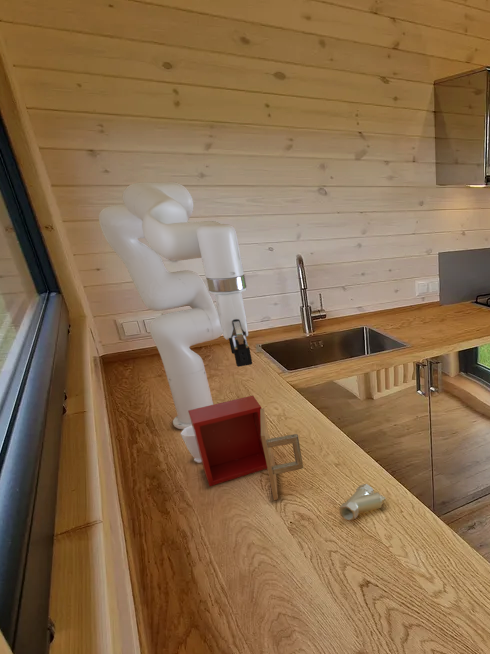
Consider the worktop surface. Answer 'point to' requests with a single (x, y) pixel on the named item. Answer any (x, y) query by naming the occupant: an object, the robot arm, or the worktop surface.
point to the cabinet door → (268, 453)
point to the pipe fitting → (361, 502)
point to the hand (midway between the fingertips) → (241, 358)
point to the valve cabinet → (229, 439)
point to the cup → (191, 443)
